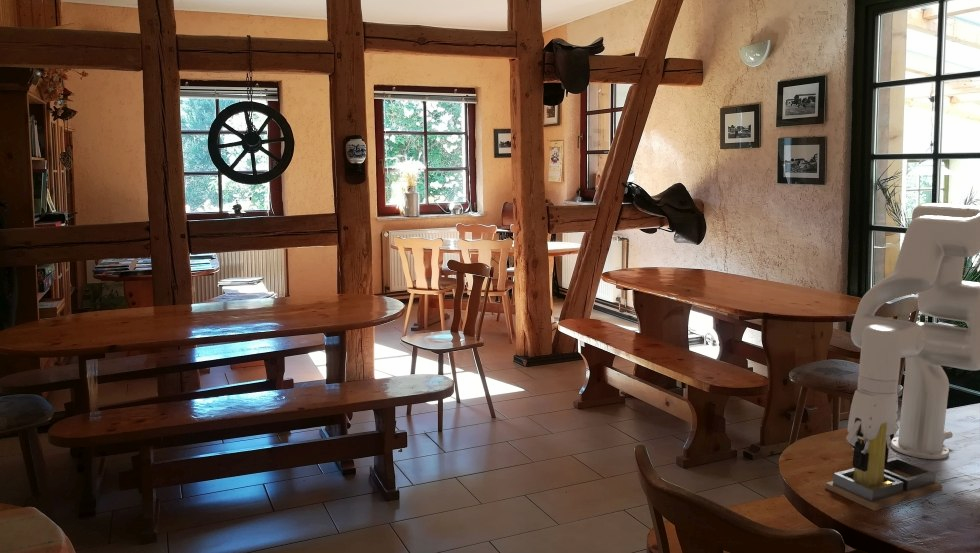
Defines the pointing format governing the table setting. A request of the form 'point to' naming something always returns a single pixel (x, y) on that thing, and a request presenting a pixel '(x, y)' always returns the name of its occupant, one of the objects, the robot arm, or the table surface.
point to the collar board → (890, 500)
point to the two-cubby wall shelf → (887, 480)
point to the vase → (874, 461)
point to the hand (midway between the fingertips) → (869, 465)
